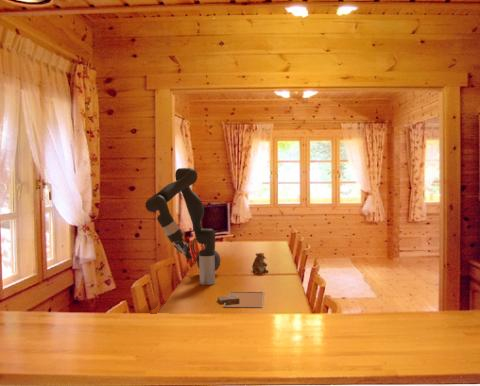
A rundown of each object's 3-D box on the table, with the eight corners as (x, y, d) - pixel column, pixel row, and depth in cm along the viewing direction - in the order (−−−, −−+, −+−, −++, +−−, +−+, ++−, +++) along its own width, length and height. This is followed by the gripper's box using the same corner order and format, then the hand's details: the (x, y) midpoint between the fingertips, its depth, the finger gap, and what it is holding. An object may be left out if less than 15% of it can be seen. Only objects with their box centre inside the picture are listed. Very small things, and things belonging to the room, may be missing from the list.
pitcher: (218, 276, 274) (217, 230, 273) (190, 276, 277) (189, 230, 277) (222, 273, 285) (221, 228, 284) (194, 272, 288) (193, 228, 287)
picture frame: (262, 309, 205) (264, 293, 233) (262, 306, 205) (264, 291, 233) (223, 308, 207) (229, 293, 235) (223, 306, 207) (229, 291, 234)
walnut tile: (220, 300, 213) (239, 298, 216) (217, 297, 219) (236, 295, 222) (220, 304, 213) (239, 302, 216) (217, 301, 219) (236, 299, 222)
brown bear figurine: (256, 274, 279) (256, 254, 278) (248, 270, 292) (247, 251, 291) (270, 273, 282) (269, 253, 282) (261, 269, 295) (260, 250, 295)
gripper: (184, 226, 211) (201, 254, 215) (172, 227, 222) (188, 254, 225) (173, 234, 207) (191, 263, 211) (161, 235, 217) (178, 263, 221)
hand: (189, 258), depth 218 cm, fingers closed
